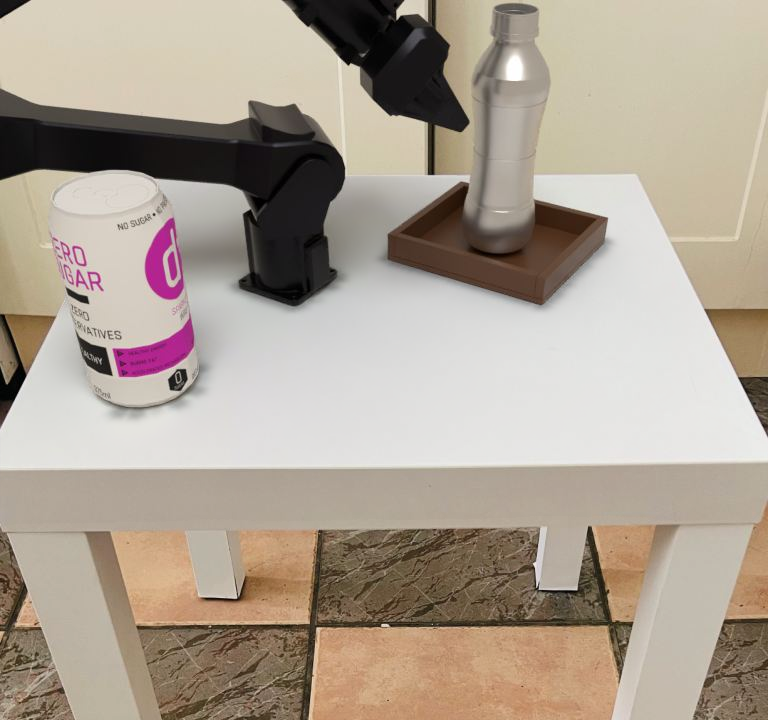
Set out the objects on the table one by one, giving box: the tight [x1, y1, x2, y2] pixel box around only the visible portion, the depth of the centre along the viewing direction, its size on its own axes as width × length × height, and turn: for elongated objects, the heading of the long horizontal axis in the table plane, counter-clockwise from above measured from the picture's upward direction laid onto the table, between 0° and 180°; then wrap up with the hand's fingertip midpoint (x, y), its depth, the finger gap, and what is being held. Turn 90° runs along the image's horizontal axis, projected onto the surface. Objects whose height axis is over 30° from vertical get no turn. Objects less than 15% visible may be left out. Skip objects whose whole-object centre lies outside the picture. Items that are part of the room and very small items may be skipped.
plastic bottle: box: [462, 2, 552, 253], centre depth 79 cm, size 6×7×20 cm
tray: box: [387, 180, 609, 306], centre depth 85 cm, size 16×14×2 cm
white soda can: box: [46, 170, 200, 408], centre depth 66 cm, size 8×8×15 cm
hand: (446, 107), depth 76 cm, fingers open, 9 cm apart
